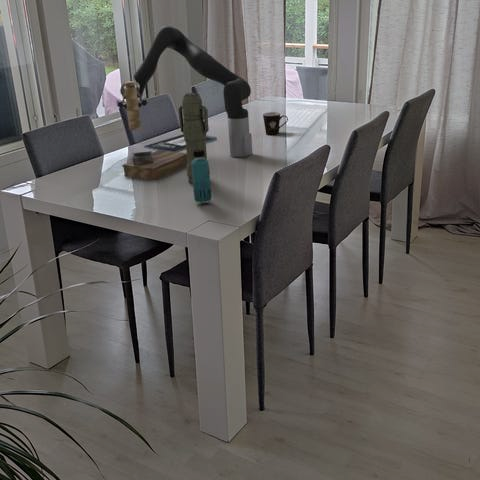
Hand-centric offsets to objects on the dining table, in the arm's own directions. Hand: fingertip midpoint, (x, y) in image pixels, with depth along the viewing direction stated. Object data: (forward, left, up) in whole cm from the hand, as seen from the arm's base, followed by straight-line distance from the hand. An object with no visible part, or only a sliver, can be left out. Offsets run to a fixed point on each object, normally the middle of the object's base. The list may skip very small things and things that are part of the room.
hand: (132, 105), depth 289 cm
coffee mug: (-29, -72, -27) cm, 82 cm away
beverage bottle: (-55, +30, -27) cm, 68 cm away
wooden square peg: (+2, -2, -10) cm, 11 cm away
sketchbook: (+7, -41, -28) cm, 50 cm away
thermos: (-38, +8, -27) cm, 47 cm away
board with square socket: (-11, +1, -27) cm, 29 cm away
